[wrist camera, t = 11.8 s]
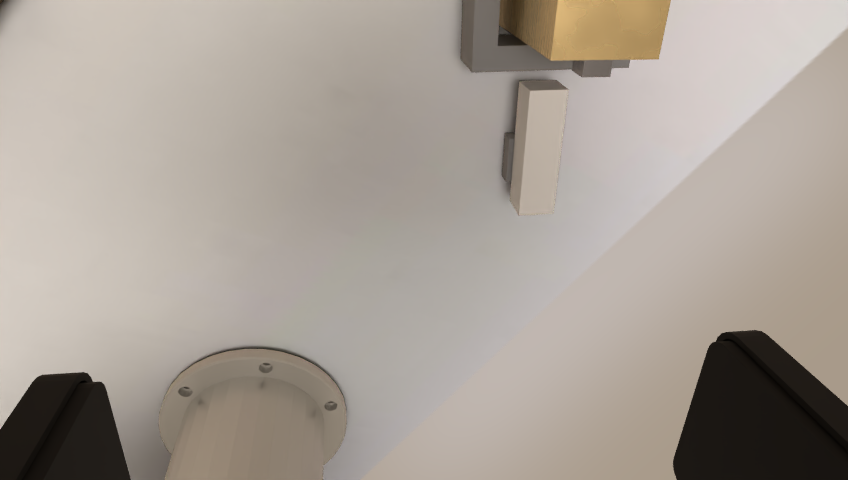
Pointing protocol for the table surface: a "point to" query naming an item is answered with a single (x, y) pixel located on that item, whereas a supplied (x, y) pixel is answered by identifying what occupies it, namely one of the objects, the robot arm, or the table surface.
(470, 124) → the table surface
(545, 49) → the tan wooden block
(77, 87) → the table surface
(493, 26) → the socket
